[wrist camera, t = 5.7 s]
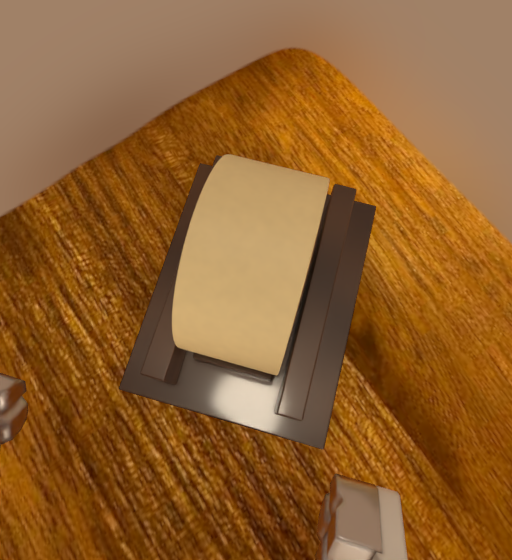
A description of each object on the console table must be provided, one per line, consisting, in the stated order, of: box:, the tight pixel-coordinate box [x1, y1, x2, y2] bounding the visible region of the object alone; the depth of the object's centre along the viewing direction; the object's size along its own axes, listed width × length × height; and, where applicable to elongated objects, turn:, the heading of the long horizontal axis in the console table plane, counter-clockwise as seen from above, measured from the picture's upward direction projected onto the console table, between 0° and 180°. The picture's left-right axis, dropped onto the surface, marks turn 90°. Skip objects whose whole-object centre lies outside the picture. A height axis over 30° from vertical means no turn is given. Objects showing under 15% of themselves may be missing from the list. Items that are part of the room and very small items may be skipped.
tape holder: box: [119, 156, 376, 449], centre depth 23 cm, size 14×11×4 cm
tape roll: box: [172, 154, 330, 376], centre depth 20 cm, size 9×5×9 cm, turn 164°
